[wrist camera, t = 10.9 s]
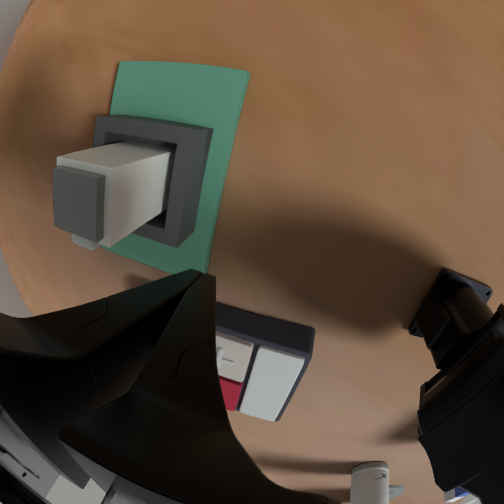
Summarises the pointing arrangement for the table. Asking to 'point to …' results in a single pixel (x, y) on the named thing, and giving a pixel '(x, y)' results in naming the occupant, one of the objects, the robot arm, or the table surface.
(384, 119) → the table surface
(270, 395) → the dark panelled flat block
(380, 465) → the travel mug
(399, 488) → the mate gourd
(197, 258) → the board
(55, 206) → the plug
